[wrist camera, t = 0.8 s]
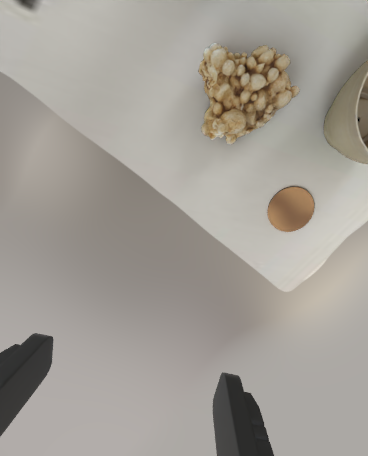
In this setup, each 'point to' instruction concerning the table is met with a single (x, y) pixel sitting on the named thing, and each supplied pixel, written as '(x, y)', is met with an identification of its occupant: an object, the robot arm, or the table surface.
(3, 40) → the table surface
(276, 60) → the mineral formation
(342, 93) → the planter bowl
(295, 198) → the cork coaster
